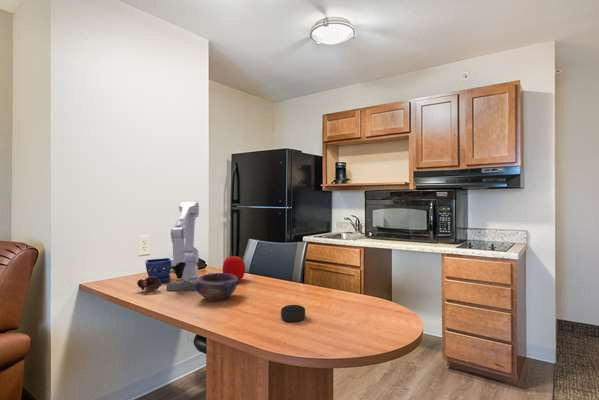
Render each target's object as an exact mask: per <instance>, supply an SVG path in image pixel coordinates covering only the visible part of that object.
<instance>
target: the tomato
mask: <svg viewBox="0 0 599 400" xmlns="http://www.w3.org/2000/svg"><path fill="white" fill-rule="evenodd" d="M222 273H226V274H231V275H235V276H237V277H238V278H239V280H240V281H241V280H242V279H243V277H244V276H245V273H246V264H245V262H244V260H243V258H241V257H240V256H237V255H235V256H234V254H232V255H231V256H227V257H226V258H225V260H224V261H223V264H222Z"/></svg>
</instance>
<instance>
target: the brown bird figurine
mask: <svg viewBox="0 0 599 400" xmlns="http://www.w3.org/2000/svg"><path fill="white" fill-rule="evenodd" d="M157 280H158V283H155V281H157ZM137 286H138V287H139V288H140V289H141V290H142V291H143V290H144V293H145V294H149V292H153V291H157V290H158V289H159V288H160V287H162V282H160V279H159V278H158V277H154V276H151V277H149V276H147V277H145V278H144V279H141V278H140V279H138V280H137Z"/></svg>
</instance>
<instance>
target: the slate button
mask: <svg viewBox="0 0 599 400" xmlns="http://www.w3.org/2000/svg"><path fill="white" fill-rule="evenodd" d="M198 277H199V275H198V276H189V284H194V283H195V282H196V281H197V278H198Z"/></svg>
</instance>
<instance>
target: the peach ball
mask: <svg viewBox="0 0 599 400" xmlns="http://www.w3.org/2000/svg"><path fill="white" fill-rule="evenodd" d="M174 281H175V282H176V284H183V283H184V277H183V276H182V278H177V277H174Z"/></svg>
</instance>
